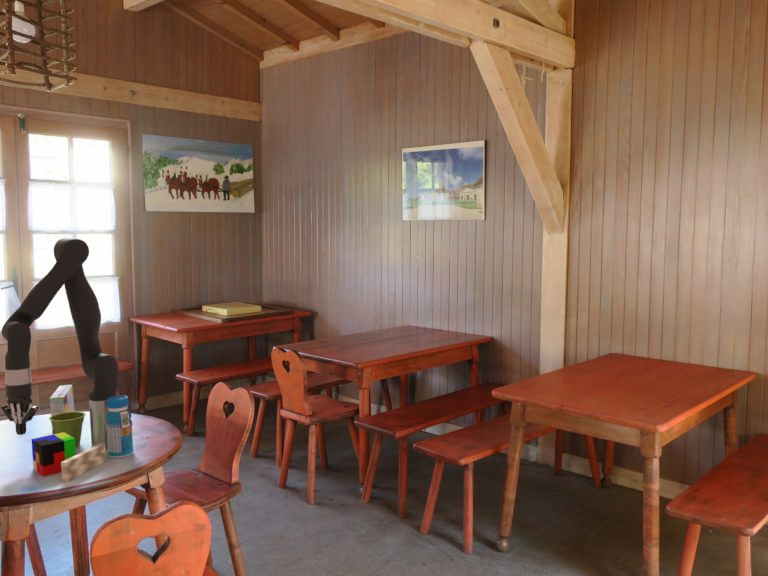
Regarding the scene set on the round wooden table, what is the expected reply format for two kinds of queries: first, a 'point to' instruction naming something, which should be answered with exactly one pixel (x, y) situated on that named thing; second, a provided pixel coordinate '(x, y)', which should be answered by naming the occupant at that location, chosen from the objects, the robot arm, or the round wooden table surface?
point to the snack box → (62, 401)
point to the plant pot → (68, 424)
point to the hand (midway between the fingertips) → (21, 434)
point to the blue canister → (119, 427)
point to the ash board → (83, 462)
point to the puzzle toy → (52, 452)
